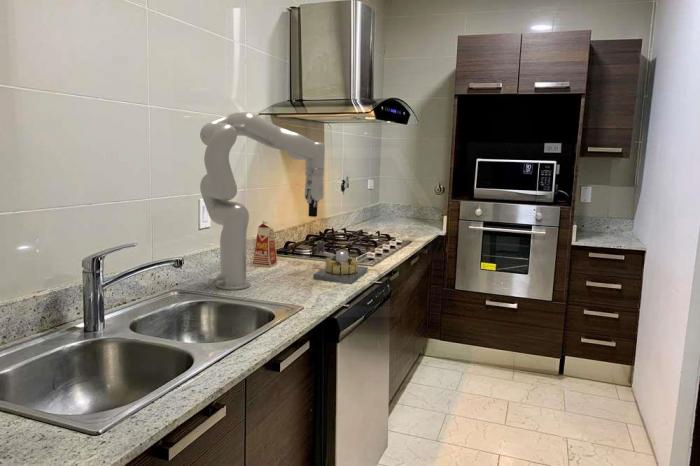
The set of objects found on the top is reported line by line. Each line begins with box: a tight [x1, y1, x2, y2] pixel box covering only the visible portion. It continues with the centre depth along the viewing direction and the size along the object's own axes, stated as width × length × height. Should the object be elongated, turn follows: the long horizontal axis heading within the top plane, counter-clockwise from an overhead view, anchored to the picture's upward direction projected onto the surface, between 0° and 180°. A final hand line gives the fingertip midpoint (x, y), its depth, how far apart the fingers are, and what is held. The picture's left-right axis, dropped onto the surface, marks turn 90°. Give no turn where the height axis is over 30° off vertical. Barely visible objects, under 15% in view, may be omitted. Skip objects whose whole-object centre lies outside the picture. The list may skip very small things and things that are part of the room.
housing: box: [312, 250, 369, 285], centre depth 215 cm, size 22×16×10 cm
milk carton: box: [251, 220, 278, 268], centre depth 228 cm, size 9×9×20 cm
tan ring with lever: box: [316, 240, 359, 274], centre depth 218 cm, size 23×13×10 cm, turn 42°
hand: (312, 216), depth 216 cm, fingers closed
